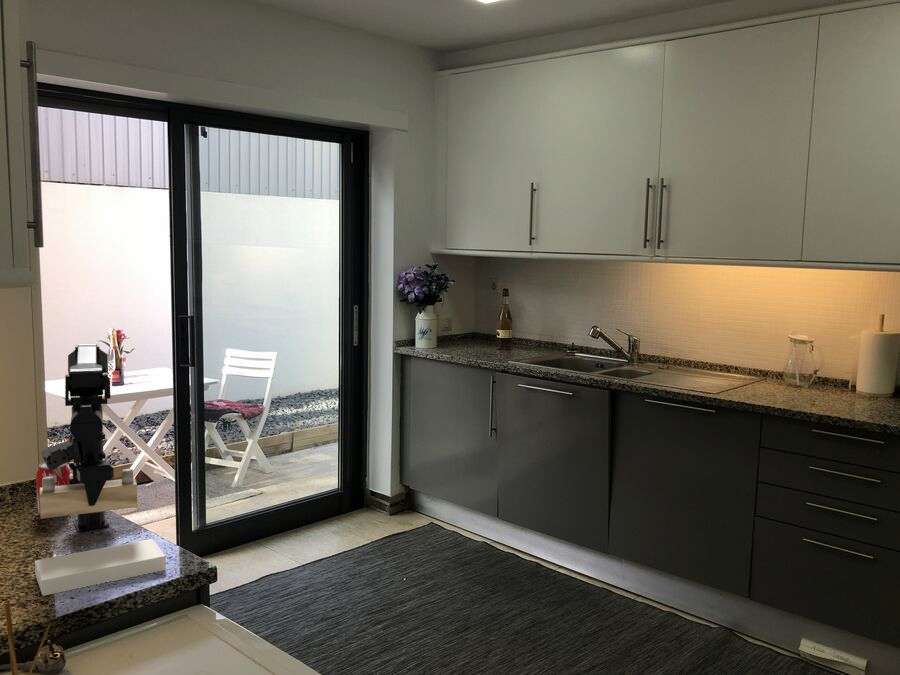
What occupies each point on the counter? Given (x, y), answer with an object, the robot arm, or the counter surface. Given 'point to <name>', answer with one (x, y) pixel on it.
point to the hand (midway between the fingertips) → (89, 501)
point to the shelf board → (98, 566)
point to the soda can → (59, 474)
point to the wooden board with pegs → (75, 500)
